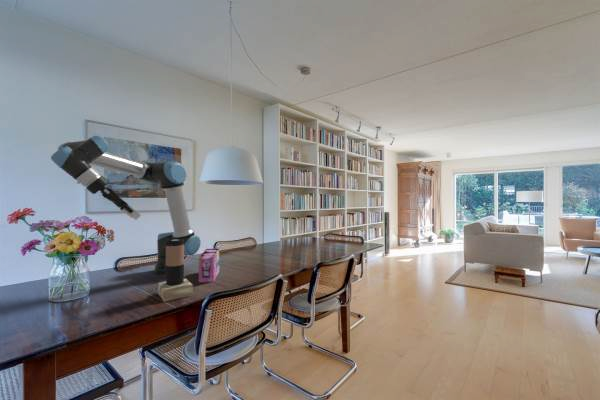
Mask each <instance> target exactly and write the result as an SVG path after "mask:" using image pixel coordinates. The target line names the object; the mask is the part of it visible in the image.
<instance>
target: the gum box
mask: <svg viewBox="0 0 600 400" xmlns="http://www.w3.org/2000/svg"><path fill="white" fill-rule="evenodd" d="M219 273H220V248H205V250H204V251H203V252H202V253H201V254H200V255H199V257H198V283H214V281H215V280H216V278H217V276H218V274H219Z"/></svg>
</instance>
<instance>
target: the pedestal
mask: <svg viewBox="0 0 600 400" xmlns="http://www.w3.org/2000/svg"><path fill="white" fill-rule="evenodd" d="M193 288H194V285H193V283H191V282H190V281H189V280H188V279H187V278H185V277H184V282H183V283H182V284H180V285H175V286H169V285H167V284H166V281H161V282H160V281H159V282H158V283H157V295H158V296H159V297H160V299H161V300H162V302H168V301H169V302H170V301H172V300H173V301H174V300H179V299H183V298H187V297H188V298H189V297H192V296H194V289H193Z"/></svg>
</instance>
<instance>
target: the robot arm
mask: <svg viewBox="0 0 600 400" xmlns="http://www.w3.org/2000/svg"><path fill="white" fill-rule="evenodd" d="M109 150H110V144H109V143H108V142H107V140H106V139H105V138H103V137H102V136H100V135H93V136H92V137H89V138H88V139H85V140H79V141H68V142H67V141H66V142H64V143H61V144H60V145H59V146H58V148H57V150H56V151H55V152H54V153H53V154H52V155H50V156H51V157H50V160H51V161H53V163H54V164H56V166H58V168H60V169H61V170H63V171H64V172H66V174H68V175H69V176H70V177H72V178H73V179H74V180H76V181H77V182H76V184H77V185H80V184H81V186H82V187H86V190H87V191H89V192H90V193H91V194H93V195H95V194H97V193H99V192H100V193H101V196H102V197H103V198H105V199H106V200H108V201H111V202H112V203H113V204H114V205H115V206H116V207H117V208H119V209H120V210H119V211H122V212H124V214H126V215H127V216H129V217H130V218H131V219H133V220H134V221H137V220H138V219H139V218H141V216H142V215H141V214H140V213H139V212H137V210H135V209H134V208H133V207H132V206H131V205H130V204H128V203H127V202H126V201H124V200H123V198H121V197H119V196H118V194H117V193H116V192H115V191H114V190H113V189H112V188H110V187H106V186H107V185H108V184H110V182H109V180H108V179H107V178H105V176H104V175H103V176H102V175H101V173H100V172H99V171H98V170H97V169H95V166H96V167H99V168H103V169H107V170H111V171H114V172H119V173H122V174H127V175H130V176H133V177H134V178H135V179H137V180H141V181H146V182H147V183H148V182H149V183H152V184H157V185H158V184H159V185H160V189H161V190H162V191H164V193H165V196H166V201H167V205H168V206H167V207H168V210H169V214H170V219H171V222H172V227H173V231H169V232H161V233H158V235H157V240H156V241H157V243H156V245H157V260H156V262H155V265H154V269H153V271H154V273H155V274H160V275H164V274H165V275H166V240H167V239H172V238H176V239H181V238H183V239H184V257H187V256H194V255H196V254H197V253H198V251H199V250H200V248H201V243H202V242H201V238H200V237H199V236H198V235H196V234H195V230H194V229H193V228H191V225H190V220H189V216H188V211H187V207H186V206H187V205H186V201H185V197H184V193H183V187H184V185H185V184H184V182H185V181H186V179H187V170H186V169H185V167H184V166H183V165H182V164H181V163H179V162H178V161H177V162H176V161H163V162H147V161H142V160H139V161H136V160H133V159H130V158H127V157H123V156H120V155H116V154H114V153H112V152H111V153H110V152H108V151H109ZM93 166H94V167H93Z"/></svg>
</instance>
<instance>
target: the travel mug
mask: <svg viewBox="0 0 600 400" xmlns="http://www.w3.org/2000/svg"><path fill="white" fill-rule="evenodd" d="M184 278H185V255H184V239H183V238H181V239H176V238H172V239H167V240H166V274H165V282H166V284H167V285H169V286H175V285H180V284H182V283H183V282H184Z"/></svg>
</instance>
